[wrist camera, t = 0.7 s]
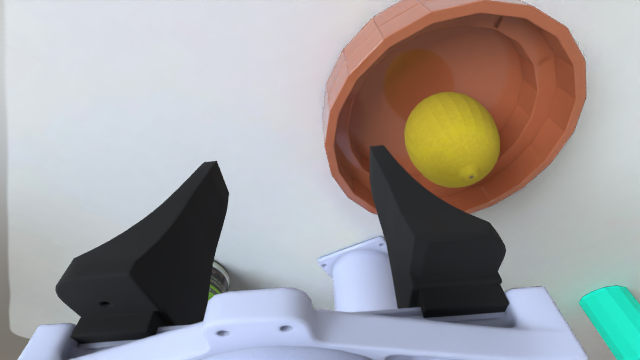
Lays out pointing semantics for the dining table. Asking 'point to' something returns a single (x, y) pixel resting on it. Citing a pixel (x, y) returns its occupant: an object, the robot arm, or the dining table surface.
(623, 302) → the candle
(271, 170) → the dining table surface
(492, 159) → the lemon
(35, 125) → the dining table surface
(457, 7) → the bowl
